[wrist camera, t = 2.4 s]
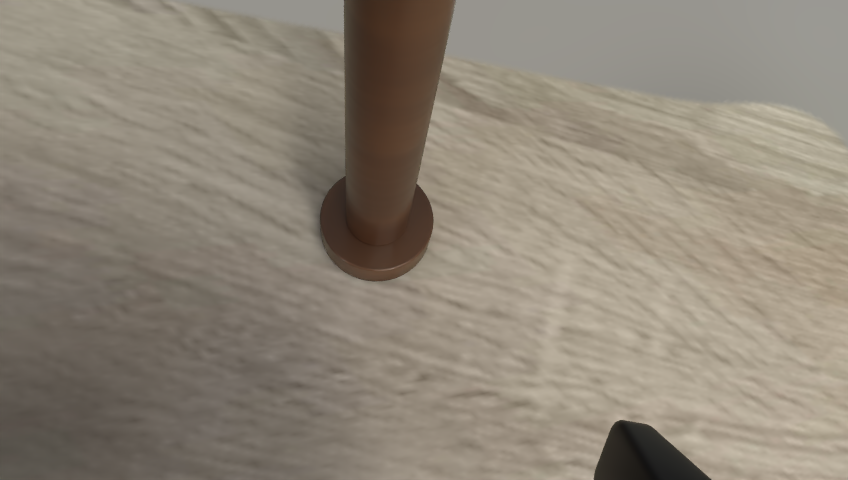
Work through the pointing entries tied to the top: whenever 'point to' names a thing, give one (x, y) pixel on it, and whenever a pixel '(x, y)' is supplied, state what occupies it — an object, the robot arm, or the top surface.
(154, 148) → the top surface
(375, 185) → the stirring stick
